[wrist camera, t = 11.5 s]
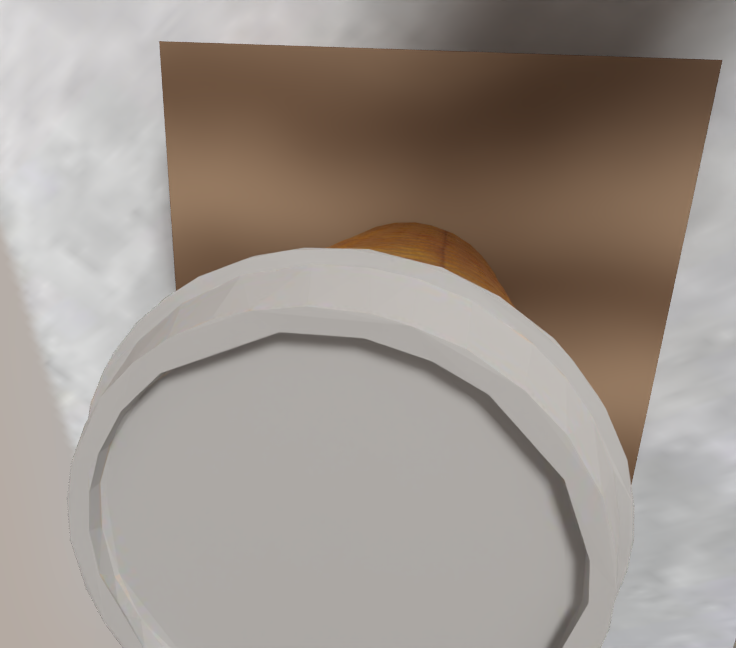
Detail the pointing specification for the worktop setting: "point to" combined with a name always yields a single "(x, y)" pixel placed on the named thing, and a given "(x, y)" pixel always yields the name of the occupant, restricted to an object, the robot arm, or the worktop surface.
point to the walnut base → (455, 176)
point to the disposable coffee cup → (350, 462)
